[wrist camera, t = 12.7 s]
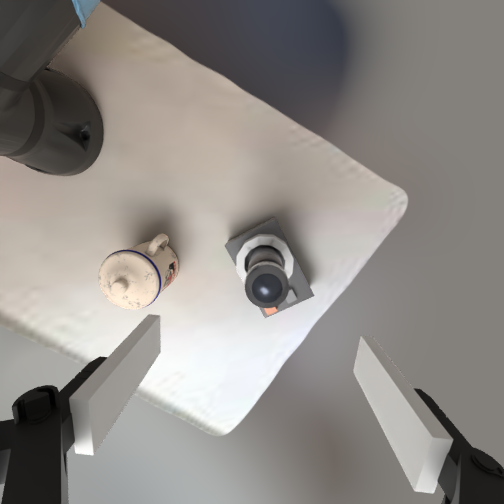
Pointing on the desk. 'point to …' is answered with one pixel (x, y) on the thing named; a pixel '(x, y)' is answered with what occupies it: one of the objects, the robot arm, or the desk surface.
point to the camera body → (274, 236)
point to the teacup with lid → (138, 273)
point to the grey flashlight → (266, 278)
